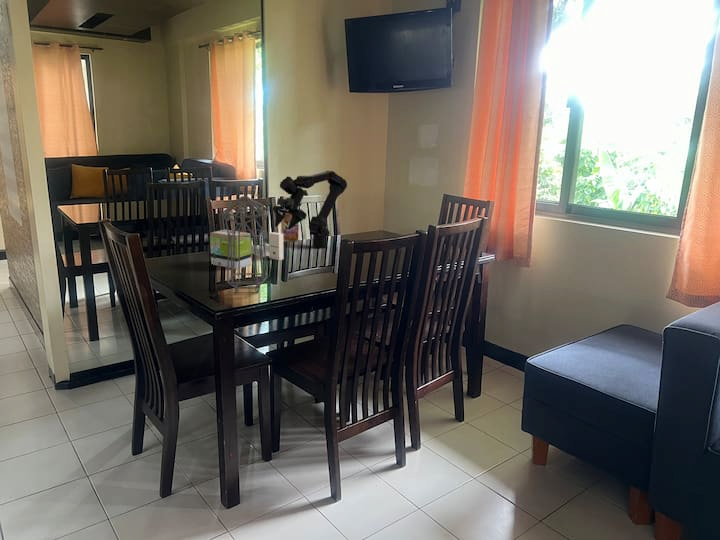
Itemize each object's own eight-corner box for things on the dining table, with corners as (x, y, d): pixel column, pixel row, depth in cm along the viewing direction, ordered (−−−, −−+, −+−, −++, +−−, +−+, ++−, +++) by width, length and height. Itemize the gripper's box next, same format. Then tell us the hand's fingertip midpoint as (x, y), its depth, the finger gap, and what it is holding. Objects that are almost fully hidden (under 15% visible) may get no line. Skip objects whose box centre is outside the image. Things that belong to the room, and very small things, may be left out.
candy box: (282, 242, 283) (282, 214, 279) (281, 240, 287) (280, 212, 283) (298, 241, 286) (298, 213, 282) (297, 240, 290) (296, 212, 286)
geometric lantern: (271, 285, 202) (270, 194, 194) (265, 297, 187) (263, 199, 178) (230, 284, 202) (226, 193, 193) (221, 297, 187) (217, 198, 178)
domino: (269, 258, 246) (268, 233, 243) (273, 257, 248) (273, 232, 245) (279, 260, 243) (278, 234, 240) (283, 259, 245) (283, 233, 242)
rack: (249, 252, 257) (249, 245, 257) (266, 250, 263) (266, 243, 262) (260, 257, 247) (260, 250, 246) (278, 255, 252) (278, 248, 251)
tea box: (210, 265, 230) (208, 232, 227) (226, 260, 239) (224, 228, 235) (237, 270, 224) (235, 235, 220) (252, 265, 232) (251, 232, 229)
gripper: (271, 189, 254) (258, 217, 250) (298, 192, 242) (284, 222, 239) (286, 200, 262) (273, 228, 259) (312, 204, 250) (299, 233, 247)
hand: (282, 227), depth 251 cm, fingers open, 9 cm apart
